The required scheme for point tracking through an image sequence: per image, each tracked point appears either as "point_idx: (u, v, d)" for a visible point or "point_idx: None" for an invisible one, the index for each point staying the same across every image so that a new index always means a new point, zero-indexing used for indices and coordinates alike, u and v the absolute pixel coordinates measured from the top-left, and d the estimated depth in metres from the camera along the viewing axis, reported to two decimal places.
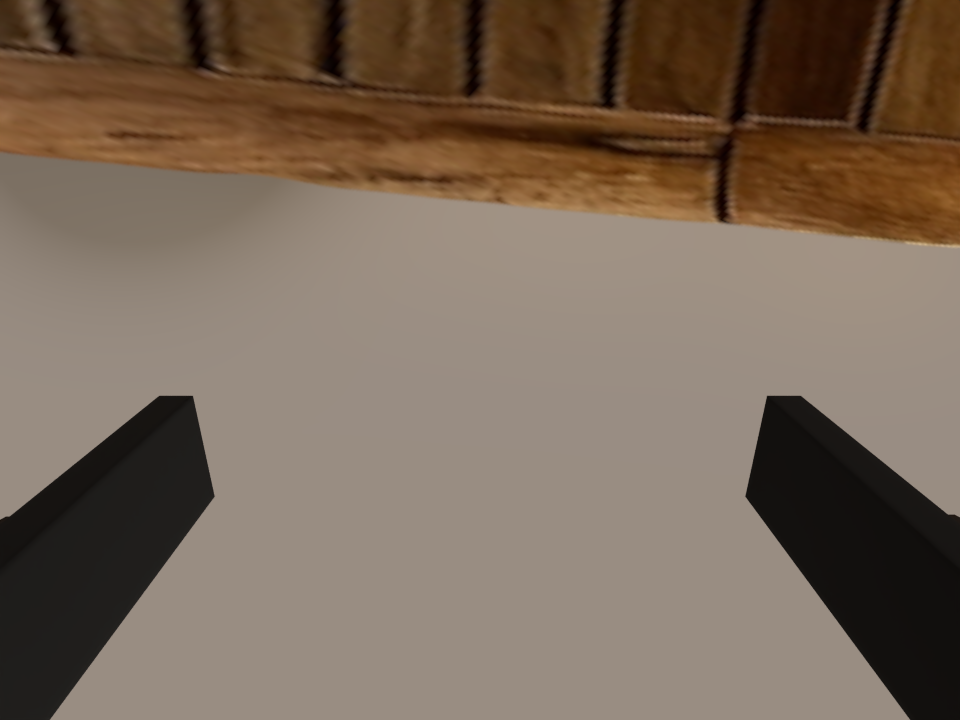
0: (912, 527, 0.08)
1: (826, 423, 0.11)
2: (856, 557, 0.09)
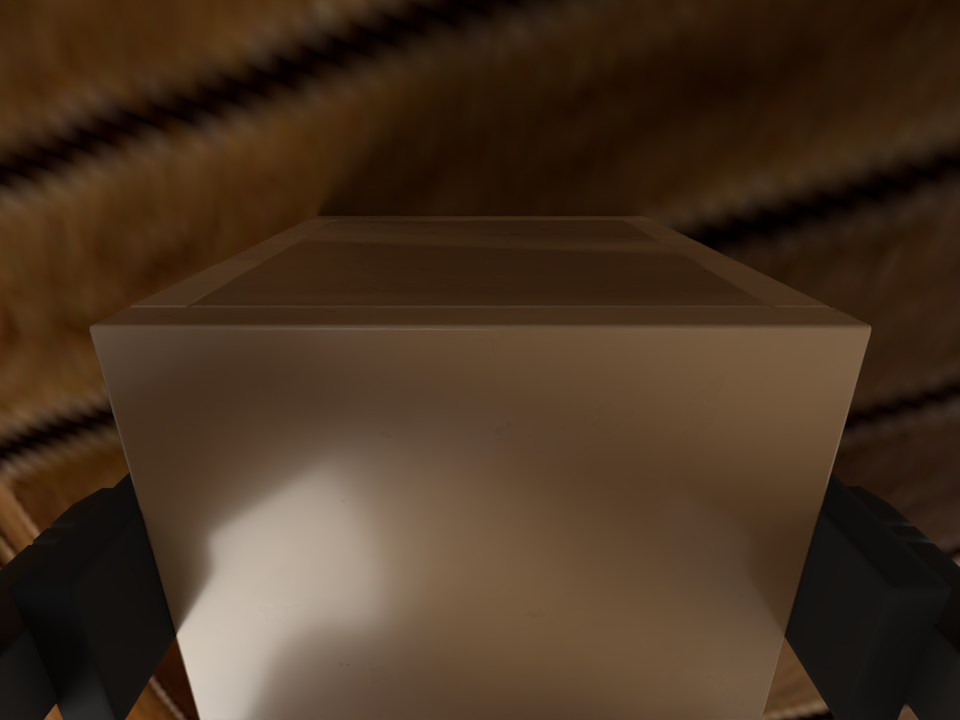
0: None
1: None
2: None
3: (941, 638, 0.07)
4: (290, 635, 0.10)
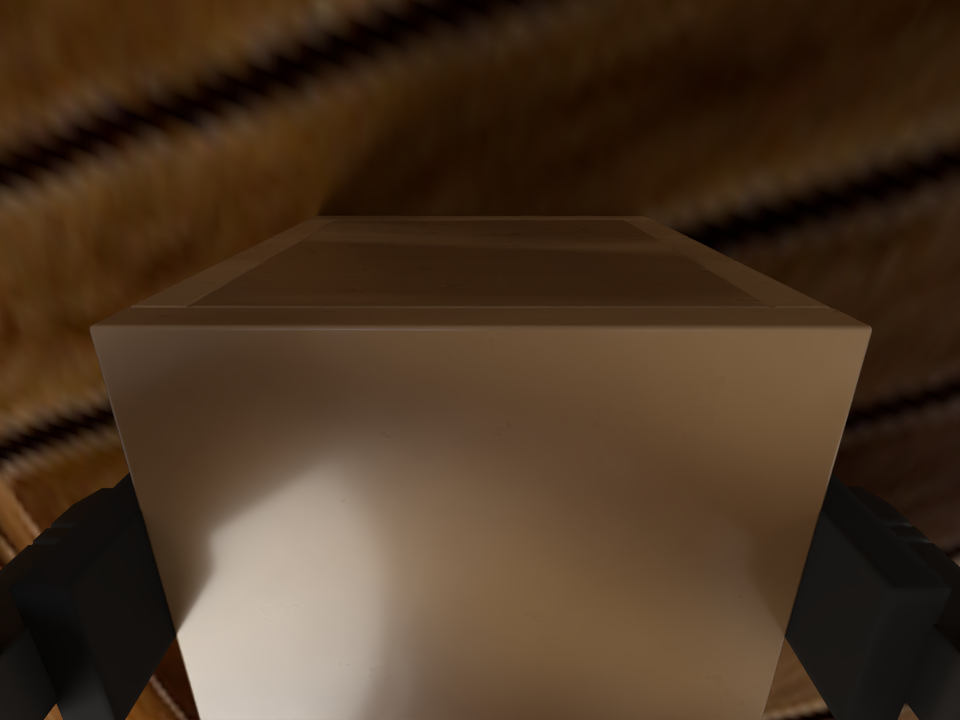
0: None
1: None
2: None
3: (941, 637, 0.07)
4: (290, 635, 0.10)
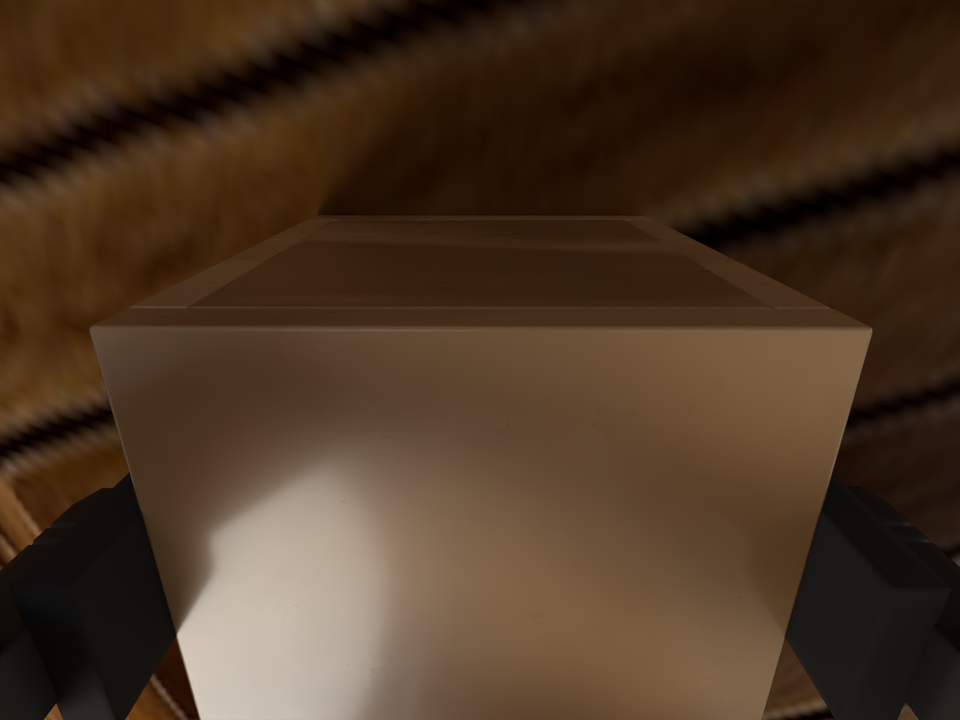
0: None
1: None
2: None
3: (941, 637, 0.07)
4: (290, 635, 0.10)
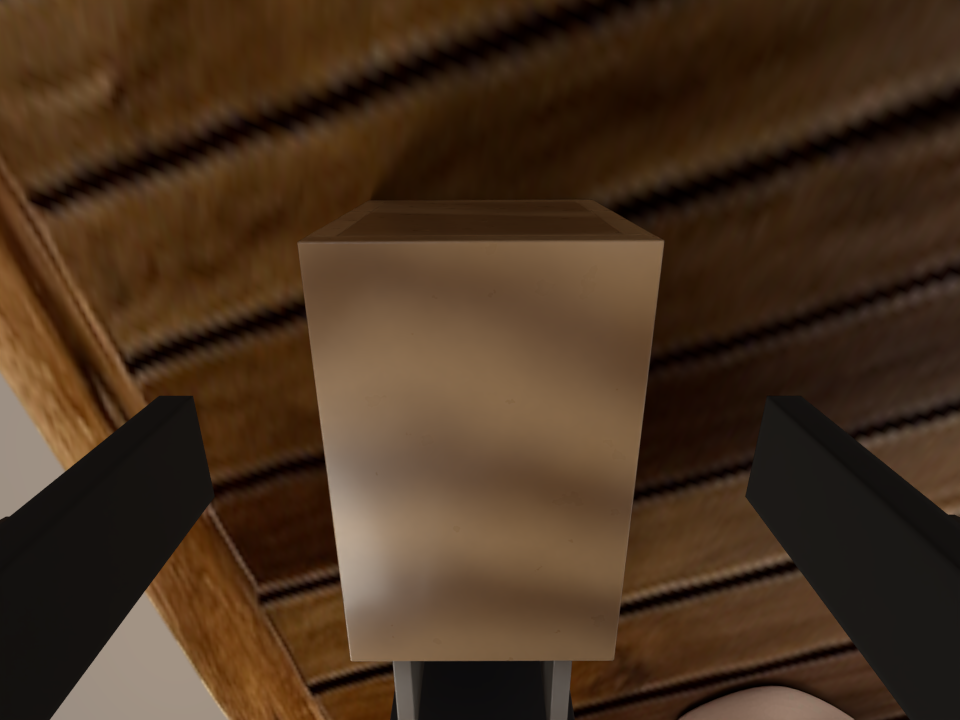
0: (912, 527, 0.08)
1: (826, 423, 0.11)
2: (855, 557, 0.09)
3: None
4: (380, 415, 0.18)
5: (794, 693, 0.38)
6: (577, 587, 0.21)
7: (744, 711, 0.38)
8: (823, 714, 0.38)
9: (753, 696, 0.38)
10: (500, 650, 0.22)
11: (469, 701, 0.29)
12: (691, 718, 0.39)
